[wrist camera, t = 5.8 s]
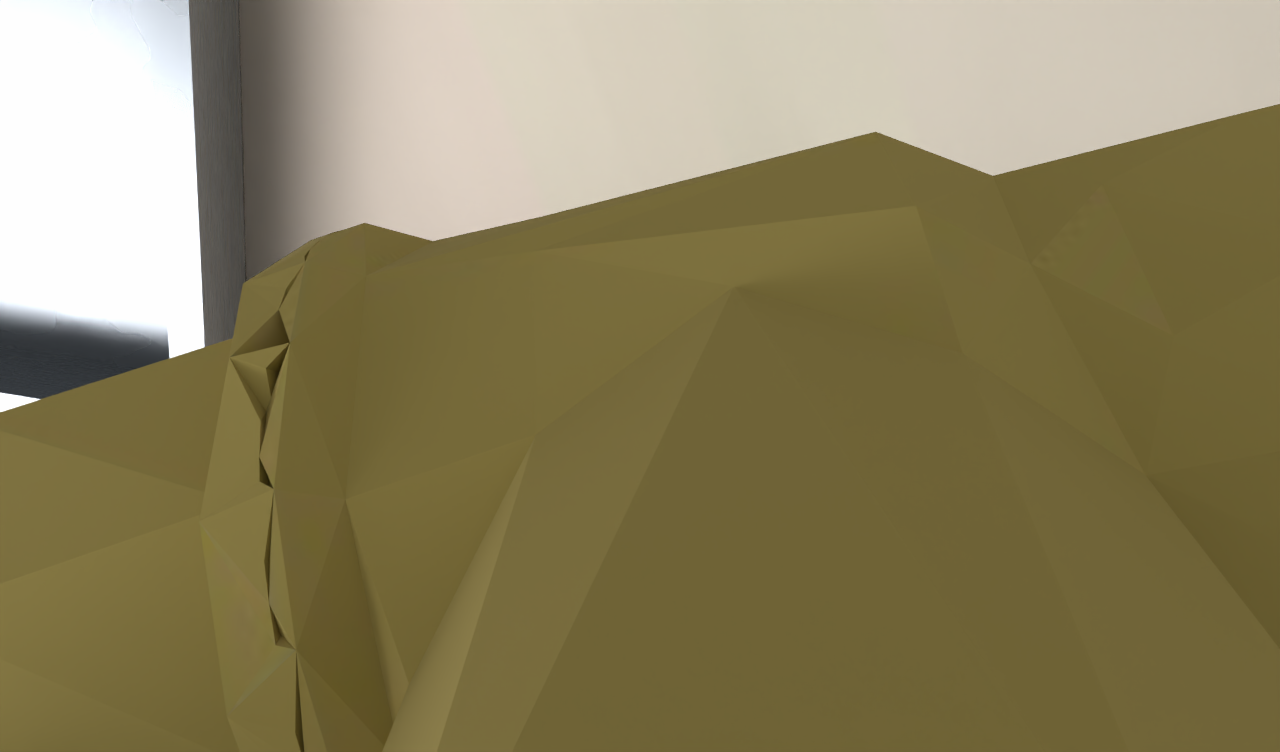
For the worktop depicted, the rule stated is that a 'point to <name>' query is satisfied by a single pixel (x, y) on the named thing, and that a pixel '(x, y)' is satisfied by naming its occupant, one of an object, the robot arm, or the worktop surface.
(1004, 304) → the ball valve
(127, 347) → the fitting cradle
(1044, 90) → the worktop surface
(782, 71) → the worktop surface
